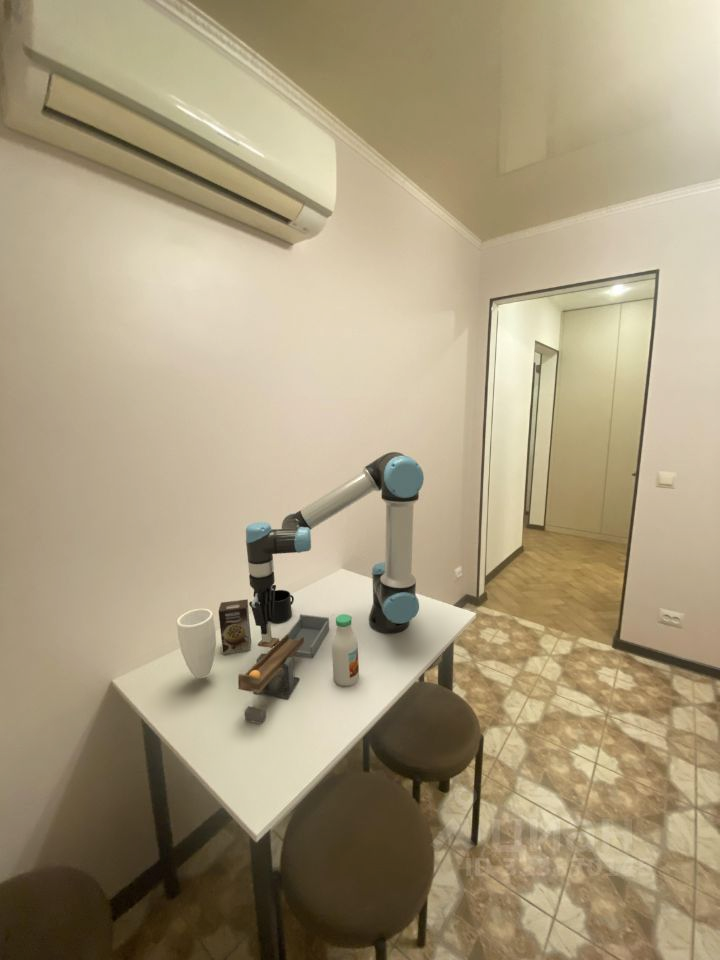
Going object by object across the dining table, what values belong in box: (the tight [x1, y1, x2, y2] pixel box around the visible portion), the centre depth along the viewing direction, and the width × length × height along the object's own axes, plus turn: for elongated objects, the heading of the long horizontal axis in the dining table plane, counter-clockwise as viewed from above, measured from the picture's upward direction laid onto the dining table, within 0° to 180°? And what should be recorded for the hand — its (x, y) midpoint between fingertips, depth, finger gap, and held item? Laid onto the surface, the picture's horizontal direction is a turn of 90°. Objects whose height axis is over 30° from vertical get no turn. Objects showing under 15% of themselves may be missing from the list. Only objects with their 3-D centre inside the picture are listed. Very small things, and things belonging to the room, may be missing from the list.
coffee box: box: [218, 599, 252, 656], centre depth 131 cm, size 9×6×16 cm
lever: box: [237, 633, 304, 693], centre depth 113 cm, size 14×28×5 cm, turn 165°
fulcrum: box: [252, 653, 300, 700], centre depth 113 cm, size 11×8×9 cm
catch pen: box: [287, 614, 330, 659], centre depth 134 cm, size 11×16×5 cm
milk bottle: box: [331, 613, 360, 687], centre depth 114 cm, size 8×8×20 cm
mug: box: [270, 589, 295, 624], centre depth 151 cm, size 9×12×9 cm
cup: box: [176, 608, 217, 679], centre depth 115 cm, size 10×10×22 cm
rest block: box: [244, 705, 267, 724], centre depth 102 cm, size 5×2×2 cm, turn 75°
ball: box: [249, 670, 261, 677], centre depth 101 cm, size 3×3×3 cm
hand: (266, 640), depth 124 cm, fingers closed
